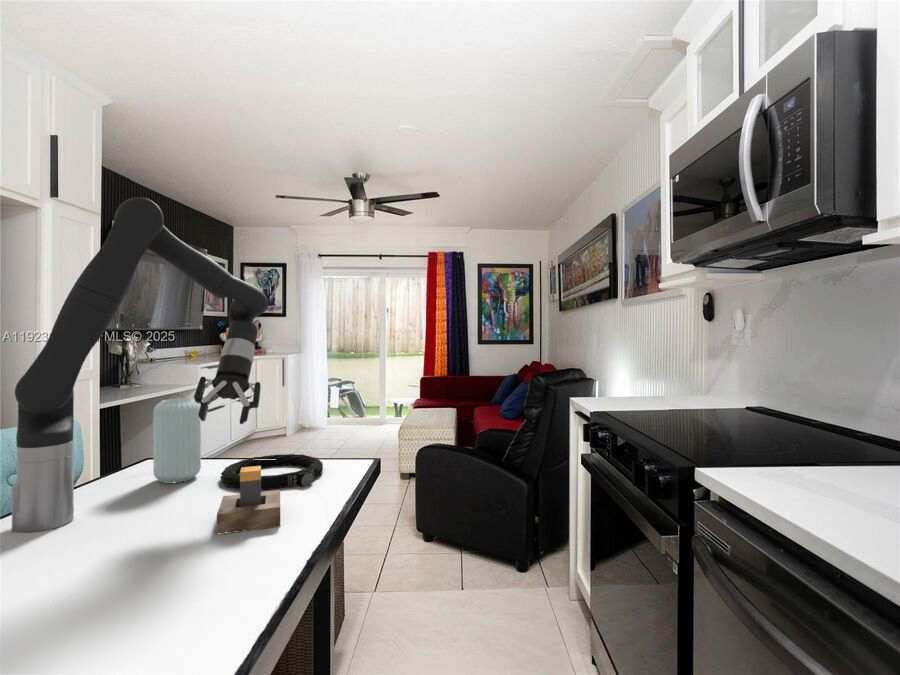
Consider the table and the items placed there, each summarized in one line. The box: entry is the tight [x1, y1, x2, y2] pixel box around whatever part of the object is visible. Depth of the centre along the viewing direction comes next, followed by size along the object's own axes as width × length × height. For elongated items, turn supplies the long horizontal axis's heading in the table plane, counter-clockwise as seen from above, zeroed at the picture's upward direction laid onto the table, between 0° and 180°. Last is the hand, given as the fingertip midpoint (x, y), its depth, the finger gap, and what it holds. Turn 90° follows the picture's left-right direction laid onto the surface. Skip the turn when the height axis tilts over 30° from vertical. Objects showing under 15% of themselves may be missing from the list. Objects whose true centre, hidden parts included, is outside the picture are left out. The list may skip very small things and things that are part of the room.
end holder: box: [216, 489, 281, 534], centre depth 103 cm, size 12×12×4 cm
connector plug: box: [239, 466, 262, 507], centre depth 103 cm, size 4×4×10 cm
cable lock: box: [220, 453, 324, 490], centre depth 136 cm, size 28×4×30 cm
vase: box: [152, 398, 202, 484], centre depth 133 cm, size 12×12×22 cm
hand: (222, 421), depth 112 cm, fingers open, 8 cm apart
